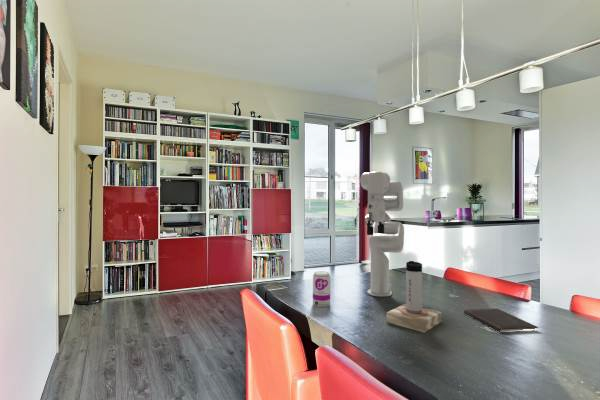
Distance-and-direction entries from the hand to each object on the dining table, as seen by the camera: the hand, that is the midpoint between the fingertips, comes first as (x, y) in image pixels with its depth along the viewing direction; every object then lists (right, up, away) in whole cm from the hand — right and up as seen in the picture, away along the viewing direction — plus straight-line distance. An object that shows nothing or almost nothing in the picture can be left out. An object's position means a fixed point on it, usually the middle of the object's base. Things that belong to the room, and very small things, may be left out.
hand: (375, 234), depth 169 cm
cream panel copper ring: (+11, -34, -23) cm, 42 cm away
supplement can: (-26, -33, -1) cm, 42 cm away
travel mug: (+11, -30, -23) cm, 39 cm away
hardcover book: (+46, -35, -22) cm, 62 cm away
